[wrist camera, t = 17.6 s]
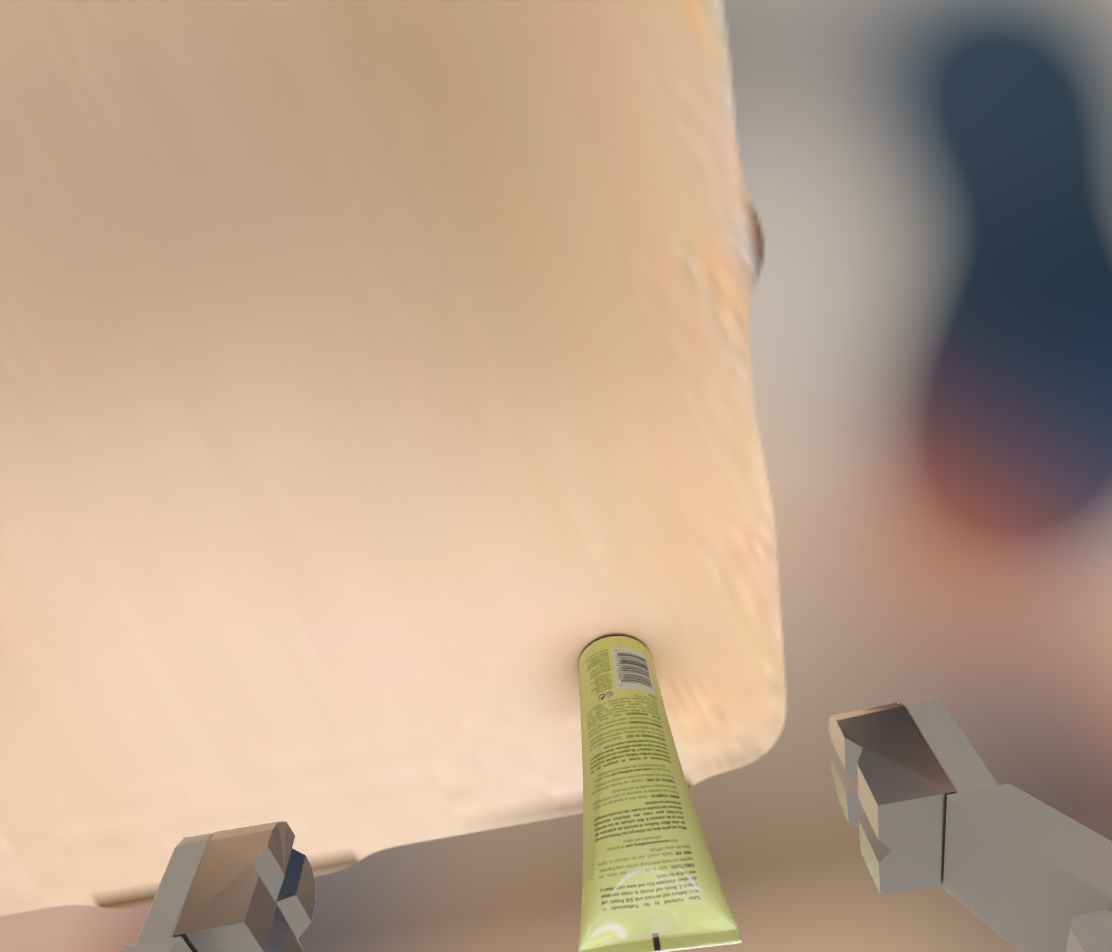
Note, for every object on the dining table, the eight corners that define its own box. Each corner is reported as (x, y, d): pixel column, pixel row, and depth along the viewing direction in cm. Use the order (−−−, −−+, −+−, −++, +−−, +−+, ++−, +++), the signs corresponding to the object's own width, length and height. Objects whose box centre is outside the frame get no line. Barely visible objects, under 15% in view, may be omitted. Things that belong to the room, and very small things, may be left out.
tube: (611, 706, 56) (658, 1002, 39) (554, 672, 54) (578, 966, 37) (667, 655, 54) (743, 942, 37) (611, 618, 52) (663, 901, 35)
